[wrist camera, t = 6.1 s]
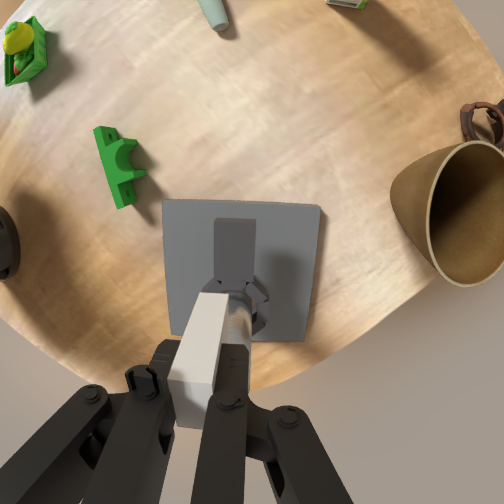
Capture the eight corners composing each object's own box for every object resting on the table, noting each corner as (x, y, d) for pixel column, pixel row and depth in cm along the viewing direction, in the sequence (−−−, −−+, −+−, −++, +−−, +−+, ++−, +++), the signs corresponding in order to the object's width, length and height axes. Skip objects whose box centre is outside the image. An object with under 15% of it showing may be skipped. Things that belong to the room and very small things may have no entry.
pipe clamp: (154, 194, 37) (142, 200, 33) (131, 203, 38) (117, 210, 33) (130, 120, 34) (116, 116, 30) (108, 131, 34) (92, 129, 30)
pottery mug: (484, 170, 35) (497, 169, 28) (445, 133, 37) (450, 124, 30) (515, 121, 29) (530, 113, 22) (475, 85, 31) (484, 70, 24)
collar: (203, 327, 33) (200, 337, 31) (200, 217, 29) (196, 221, 27) (265, 331, 33) (266, 341, 31) (273, 219, 29) (274, 224, 27)
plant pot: (461, 204, 36) (531, 231, 21) (397, 262, 40) (455, 314, 24) (418, 122, 33) (493, 114, 18) (344, 180, 36) (400, 198, 21)
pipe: (221, 292, 39) (195, 402, 20) (221, 262, 38) (190, 362, 19) (254, 294, 39) (251, 407, 20) (255, 263, 38) (253, 366, 19)
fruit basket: (21, 44, 28) (-18, 33, 17) (55, 17, 27) (18, -2, 16) (23, 91, 31) (-21, 85, 20) (59, 64, 30) (14, 50, 19)
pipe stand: (174, 327, 44) (171, 334, 42) (166, 199, 37) (161, 201, 35) (302, 334, 43) (303, 341, 42) (317, 204, 37) (320, 207, 35)
